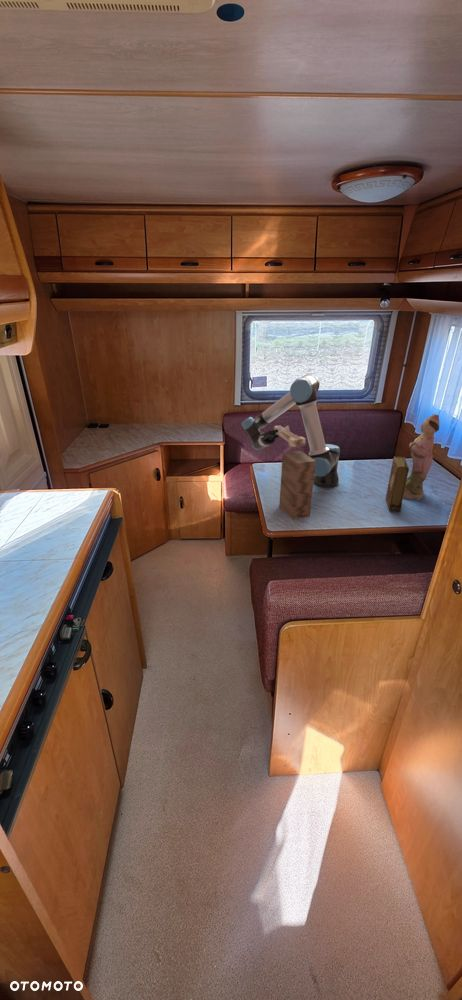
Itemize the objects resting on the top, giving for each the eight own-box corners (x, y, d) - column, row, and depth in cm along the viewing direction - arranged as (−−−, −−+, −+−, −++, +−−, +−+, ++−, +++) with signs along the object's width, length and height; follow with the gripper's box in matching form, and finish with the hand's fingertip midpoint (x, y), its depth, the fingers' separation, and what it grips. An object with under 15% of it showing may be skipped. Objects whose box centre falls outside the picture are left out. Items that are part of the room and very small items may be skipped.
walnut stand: (295, 503, 231) (300, 450, 217) (309, 515, 218) (315, 460, 205) (279, 506, 228) (282, 452, 214) (292, 519, 215) (297, 463, 202)
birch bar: (282, 431, 229) (283, 425, 228) (305, 445, 209) (305, 438, 208) (270, 432, 227) (271, 426, 225) (292, 447, 207) (292, 440, 205)
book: (385, 498, 238) (393, 455, 227) (395, 498, 237) (404, 456, 226) (388, 511, 223) (397, 467, 212) (399, 512, 222) (409, 467, 211)
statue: (424, 490, 247) (442, 413, 227) (423, 501, 234) (441, 421, 214) (396, 485, 253) (411, 409, 233) (393, 496, 240) (408, 417, 219)
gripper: (281, 443, 244) (300, 434, 221) (254, 446, 238) (271, 437, 216) (278, 430, 244) (297, 419, 222) (252, 433, 239) (269, 422, 216)
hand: (284, 428), depth 219 cm, fingers closed on birch bar, 3 cm apart
